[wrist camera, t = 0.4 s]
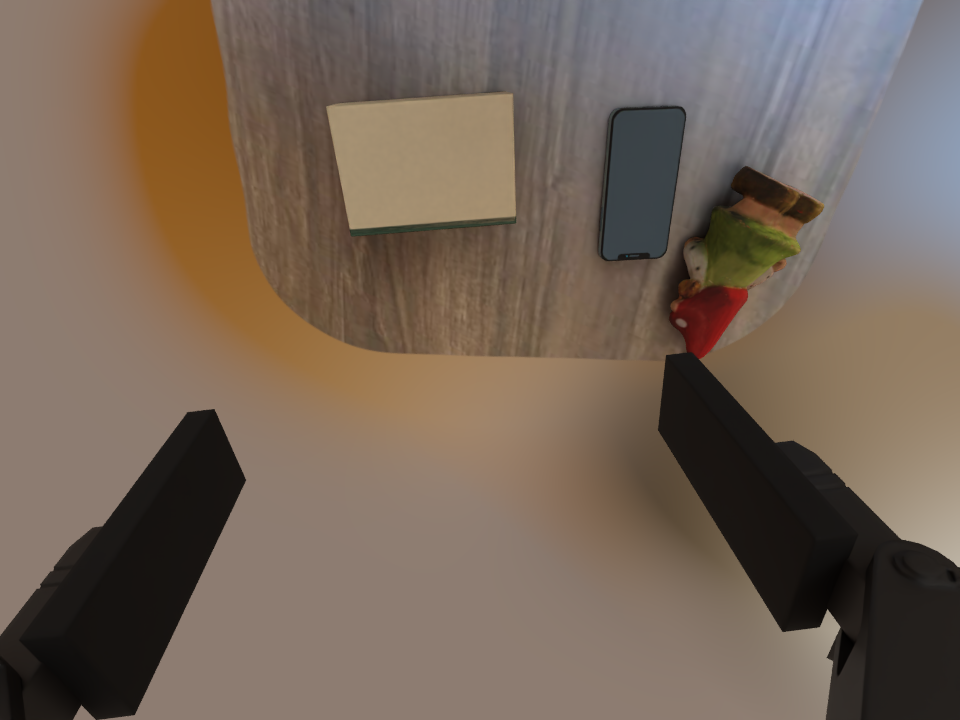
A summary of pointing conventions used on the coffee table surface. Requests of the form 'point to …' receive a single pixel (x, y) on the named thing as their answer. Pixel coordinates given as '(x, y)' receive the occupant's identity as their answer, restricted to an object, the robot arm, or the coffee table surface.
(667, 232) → the smartphone
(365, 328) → the coffee table surface
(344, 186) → the book
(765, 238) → the figurine
